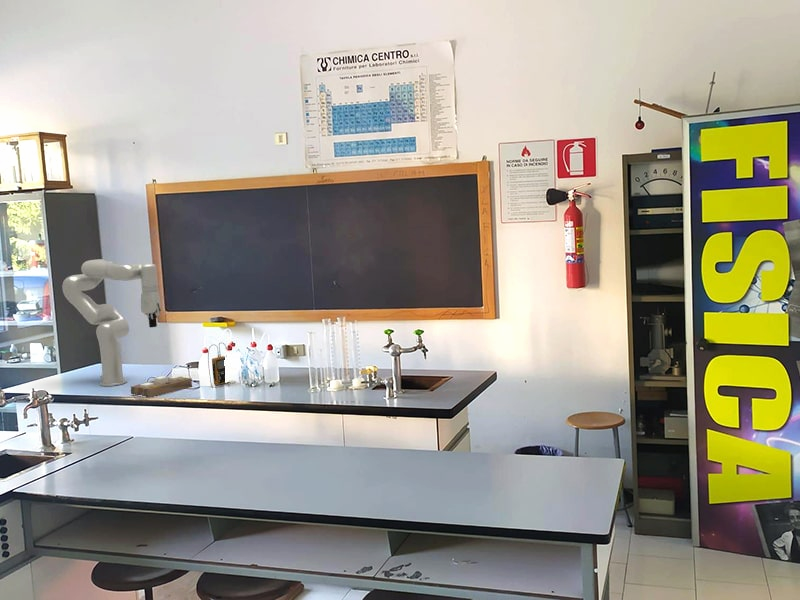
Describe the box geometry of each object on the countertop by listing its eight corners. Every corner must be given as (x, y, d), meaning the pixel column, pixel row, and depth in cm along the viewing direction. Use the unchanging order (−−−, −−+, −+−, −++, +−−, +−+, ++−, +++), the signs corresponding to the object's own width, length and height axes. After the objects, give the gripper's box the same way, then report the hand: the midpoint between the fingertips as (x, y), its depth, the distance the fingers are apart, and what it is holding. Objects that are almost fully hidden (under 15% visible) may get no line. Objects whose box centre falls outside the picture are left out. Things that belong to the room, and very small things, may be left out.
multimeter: (221, 388, 357) (217, 347, 355) (207, 386, 363) (204, 345, 361) (245, 382, 369) (241, 341, 367) (231, 380, 375) (228, 340, 373)
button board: (131, 394, 354) (130, 385, 353) (173, 384, 373) (172, 375, 373) (150, 397, 346) (149, 388, 345) (192, 386, 365) (191, 377, 365)
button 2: (169, 386, 366) (168, 377, 365) (176, 384, 369) (175, 375, 369) (175, 387, 363) (174, 378, 363) (182, 385, 367) (181, 376, 366)
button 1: (141, 394, 353) (140, 384, 352) (148, 392, 356) (148, 382, 356) (147, 395, 350) (146, 385, 349) (154, 392, 354) (154, 383, 353)
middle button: (155, 387, 359) (154, 378, 358) (162, 385, 362) (161, 376, 362) (161, 388, 356) (160, 378, 356) (168, 386, 360) (167, 376, 359)
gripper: (134, 290, 369) (137, 327, 371) (153, 290, 360) (156, 328, 363) (147, 288, 375) (150, 325, 377) (166, 289, 367) (169, 326, 369)
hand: (153, 326), depth 370 cm, fingers closed
